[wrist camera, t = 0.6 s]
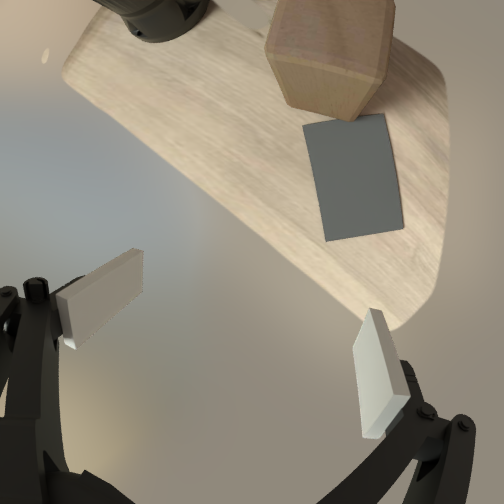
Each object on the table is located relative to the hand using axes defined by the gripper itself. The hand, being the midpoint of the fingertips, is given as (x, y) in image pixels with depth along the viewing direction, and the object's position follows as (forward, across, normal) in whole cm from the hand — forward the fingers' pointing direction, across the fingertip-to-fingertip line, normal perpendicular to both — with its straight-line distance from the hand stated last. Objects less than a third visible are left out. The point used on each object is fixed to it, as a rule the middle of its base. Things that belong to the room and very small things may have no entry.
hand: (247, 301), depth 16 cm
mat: (+28, +8, +7) cm, 30 cm away
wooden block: (+29, +2, +20) cm, 35 cm away
